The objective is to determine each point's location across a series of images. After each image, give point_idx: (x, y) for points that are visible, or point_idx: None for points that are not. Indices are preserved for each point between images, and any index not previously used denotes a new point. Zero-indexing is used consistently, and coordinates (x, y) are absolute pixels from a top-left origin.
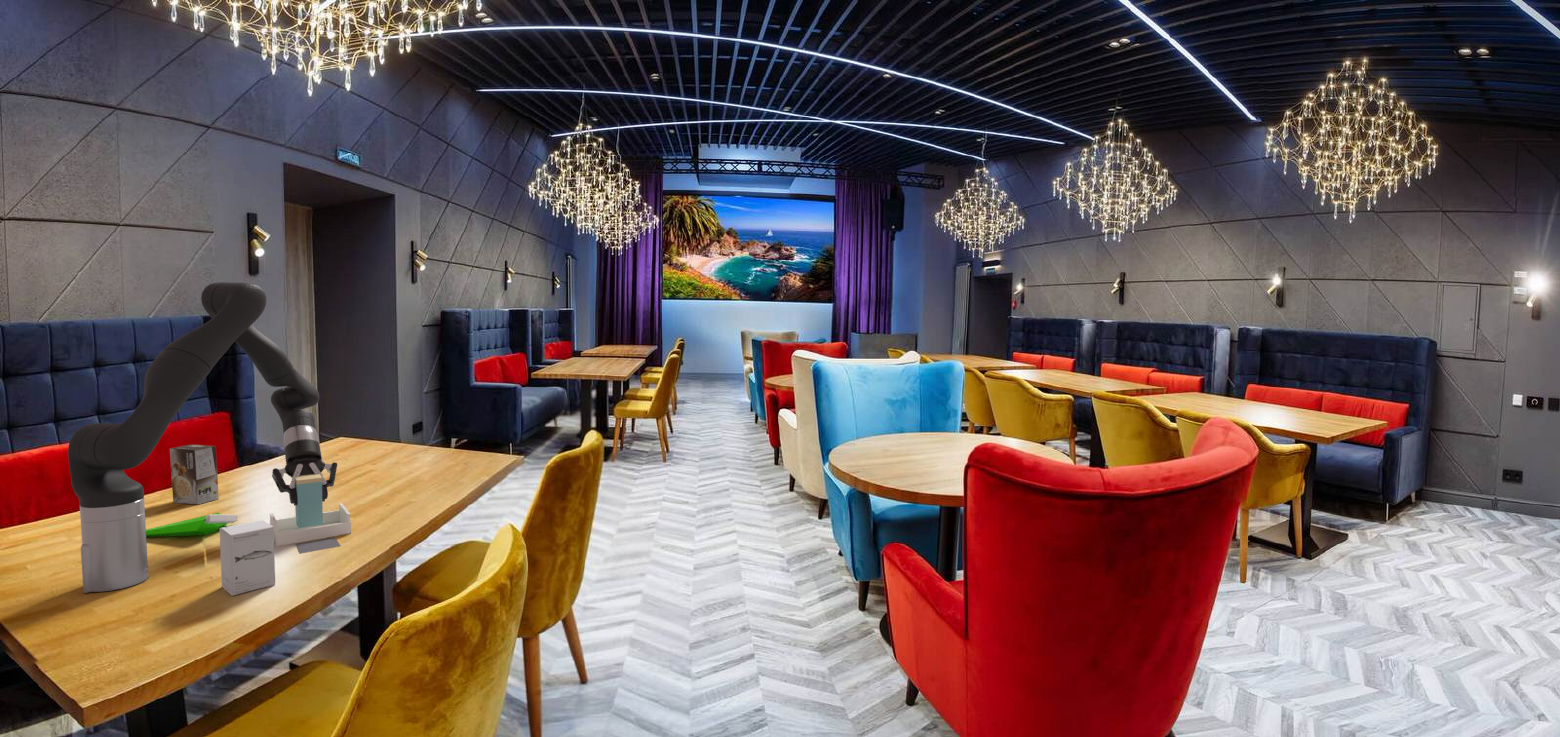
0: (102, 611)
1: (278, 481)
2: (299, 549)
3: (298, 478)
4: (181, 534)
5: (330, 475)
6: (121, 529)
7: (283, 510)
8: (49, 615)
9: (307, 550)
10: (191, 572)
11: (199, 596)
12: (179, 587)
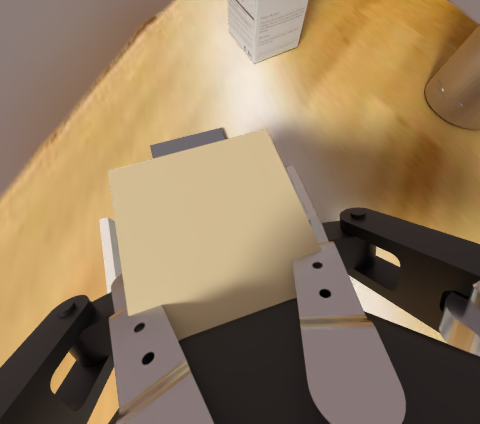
0: (401, 24)
1: (409, 225)
2: None
3: (274, 189)
4: None
5: (50, 345)
6: None
7: None
8: (456, 31)
9: (209, 139)
10: (375, 112)
11: (311, 30)
12: (355, 62)
